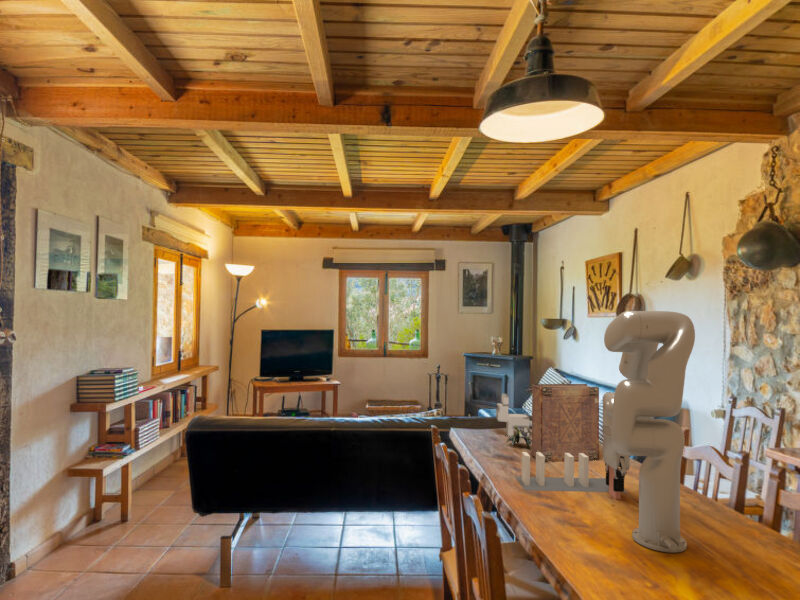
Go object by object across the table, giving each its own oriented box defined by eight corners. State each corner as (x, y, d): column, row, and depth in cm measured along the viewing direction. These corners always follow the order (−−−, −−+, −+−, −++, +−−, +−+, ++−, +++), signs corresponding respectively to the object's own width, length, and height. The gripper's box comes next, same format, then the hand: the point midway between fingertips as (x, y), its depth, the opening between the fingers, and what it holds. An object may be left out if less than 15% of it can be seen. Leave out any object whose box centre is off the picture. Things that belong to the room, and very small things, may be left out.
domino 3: (573, 486, 168) (574, 457, 168) (569, 486, 168) (569, 456, 168) (568, 481, 173) (569, 452, 173) (564, 481, 173) (564, 452, 173)
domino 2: (544, 486, 168) (544, 456, 168) (539, 485, 168) (540, 456, 168) (540, 481, 173) (540, 452, 173) (535, 481, 173) (536, 452, 173)
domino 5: (620, 501, 157) (620, 469, 157) (615, 501, 157) (615, 469, 157) (613, 495, 162) (613, 464, 162) (608, 495, 162) (609, 464, 162)
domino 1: (529, 485, 168) (530, 456, 168) (525, 485, 168) (525, 455, 168) (526, 480, 173) (526, 452, 173) (521, 480, 173) (521, 451, 173)
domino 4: (588, 486, 168) (588, 457, 168) (583, 486, 168) (584, 457, 168) (583, 482, 173) (583, 453, 173) (578, 481, 173) (578, 453, 173)
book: (586, 454, 211) (587, 383, 212) (599, 460, 202) (599, 386, 203) (531, 456, 207) (532, 384, 208) (541, 462, 198) (542, 387, 199)
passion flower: (528, 460, 220) (538, 442, 213) (504, 455, 219) (514, 437, 212) (523, 440, 229) (532, 422, 223) (500, 436, 228) (510, 418, 222)
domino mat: (627, 494, 164) (627, 492, 164) (524, 492, 163) (524, 490, 164) (609, 480, 178) (609, 478, 178) (515, 478, 177) (515, 476, 178)
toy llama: (534, 438, 237) (535, 396, 238) (497, 437, 239) (498, 395, 239) (531, 434, 244) (532, 394, 245) (496, 433, 246) (496, 393, 247)
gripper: (639, 438, 152) (639, 498, 151) (615, 425, 169) (614, 479, 168) (615, 437, 152) (614, 497, 151) (593, 425, 169) (592, 479, 168)
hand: (614, 487), depth 160 cm, fingers closed on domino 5, 4 cm apart
